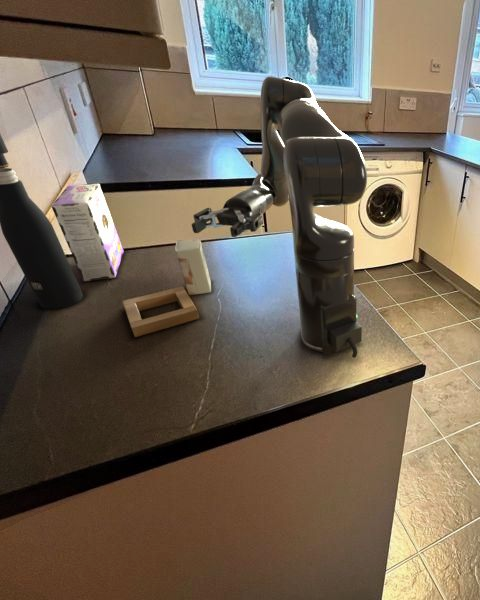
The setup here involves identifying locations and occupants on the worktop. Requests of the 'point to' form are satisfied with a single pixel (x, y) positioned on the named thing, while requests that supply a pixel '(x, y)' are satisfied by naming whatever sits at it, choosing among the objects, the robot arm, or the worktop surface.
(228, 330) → the worktop surface
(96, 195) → the candy box
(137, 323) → the frame
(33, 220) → the dark grey bottle
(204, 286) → the white tall rectangular block
